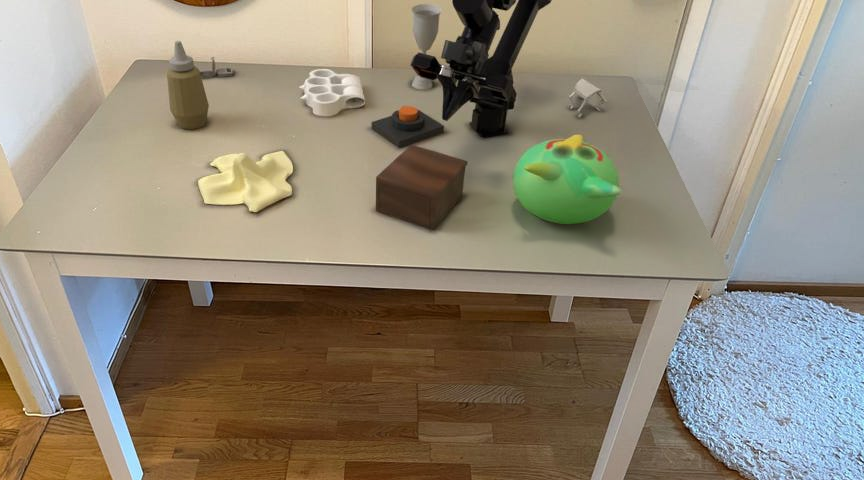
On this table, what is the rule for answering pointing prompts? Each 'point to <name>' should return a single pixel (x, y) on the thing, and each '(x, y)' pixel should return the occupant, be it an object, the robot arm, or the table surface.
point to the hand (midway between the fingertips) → (444, 119)
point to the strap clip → (220, 72)
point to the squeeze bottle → (186, 91)
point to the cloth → (248, 181)
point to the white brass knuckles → (332, 92)
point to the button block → (407, 129)
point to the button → (408, 113)
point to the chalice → (425, 34)
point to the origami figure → (587, 93)
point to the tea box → (418, 203)
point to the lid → (422, 171)
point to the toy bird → (566, 181)
